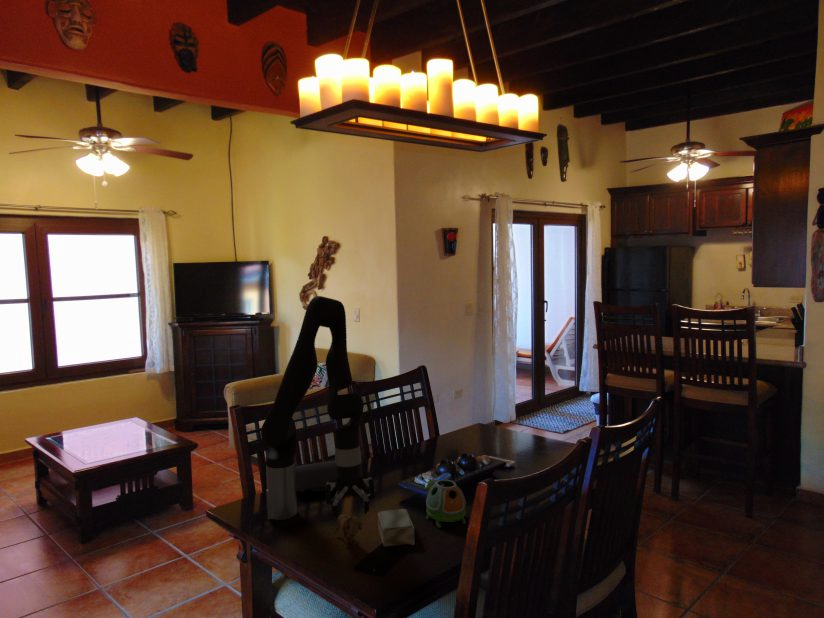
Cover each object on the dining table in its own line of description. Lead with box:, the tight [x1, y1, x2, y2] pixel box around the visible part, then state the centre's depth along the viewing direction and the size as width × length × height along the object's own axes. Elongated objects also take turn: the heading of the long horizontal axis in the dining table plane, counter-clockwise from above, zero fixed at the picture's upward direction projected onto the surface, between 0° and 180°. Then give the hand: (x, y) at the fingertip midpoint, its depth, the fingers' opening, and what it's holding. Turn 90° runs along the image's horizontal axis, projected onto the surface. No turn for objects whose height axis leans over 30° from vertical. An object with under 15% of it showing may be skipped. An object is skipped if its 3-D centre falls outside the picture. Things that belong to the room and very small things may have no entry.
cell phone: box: [353, 541, 414, 577], centre depth 162 cm, size 9×18×1 cm, turn 153°
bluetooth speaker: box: [295, 460, 338, 493], centre depth 213 cm, size 23×9×10 cm, turn 108°
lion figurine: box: [335, 513, 365, 548], centre depth 173 cm, size 15×5×9 cm, turn 34°
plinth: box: [377, 508, 416, 546], centre depth 175 cm, size 9×13×6 cm
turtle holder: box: [425, 479, 467, 528], centre depth 187 cm, size 12×18×12 cm
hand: (351, 514), depth 172 cm, fingers open, 8 cm apart
